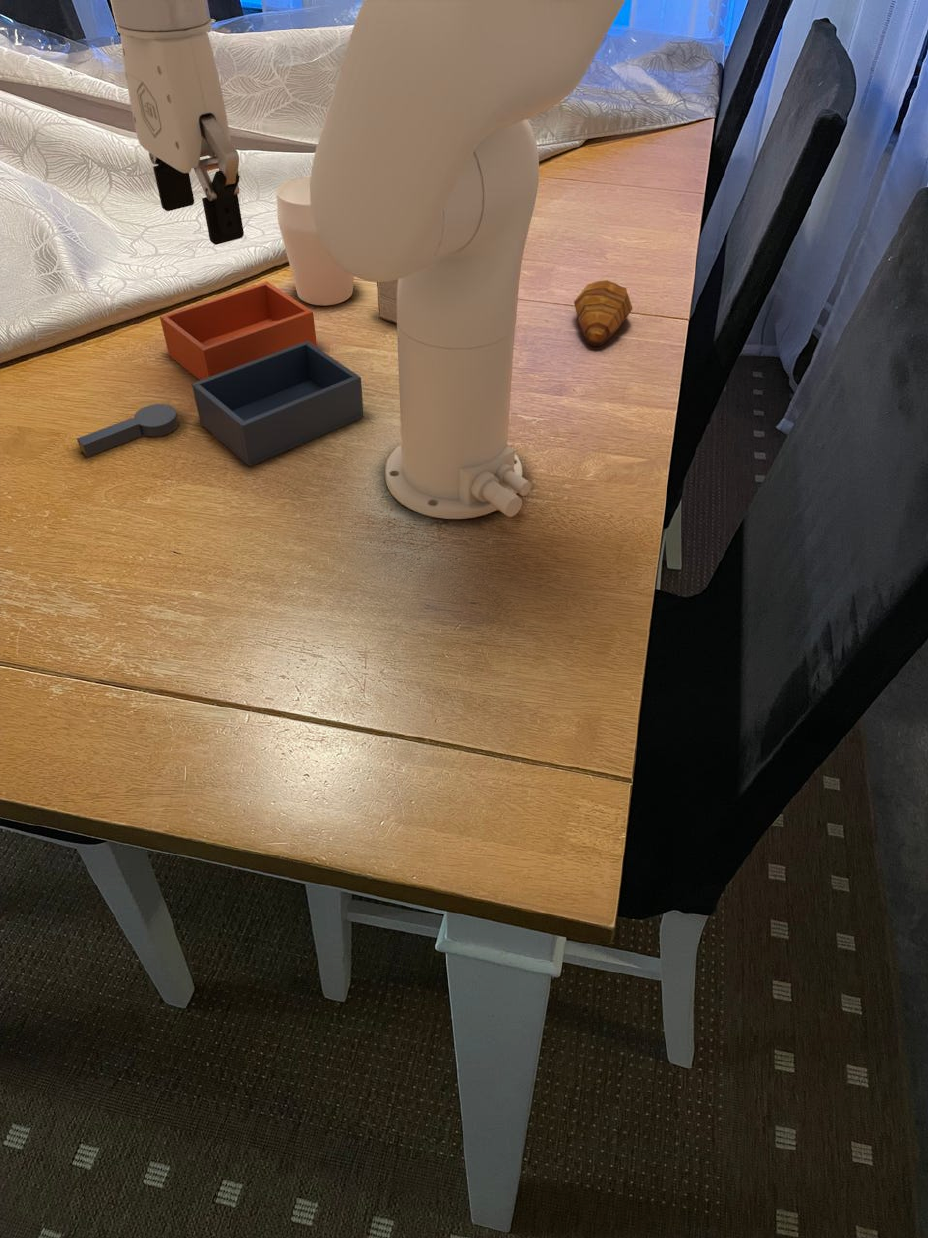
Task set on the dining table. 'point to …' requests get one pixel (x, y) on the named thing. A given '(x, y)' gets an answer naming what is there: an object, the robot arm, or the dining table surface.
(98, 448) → the blue spoon
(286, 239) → the cup
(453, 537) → the dining table surface
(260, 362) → the blue bin
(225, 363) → the terracotta bin
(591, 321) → the croissant
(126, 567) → the dining table surface
